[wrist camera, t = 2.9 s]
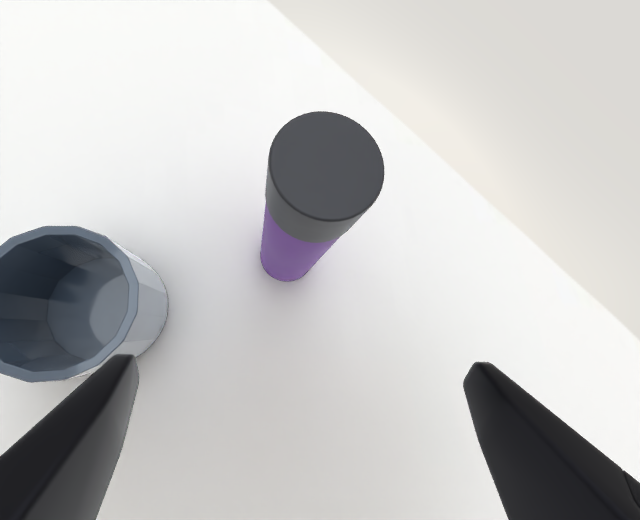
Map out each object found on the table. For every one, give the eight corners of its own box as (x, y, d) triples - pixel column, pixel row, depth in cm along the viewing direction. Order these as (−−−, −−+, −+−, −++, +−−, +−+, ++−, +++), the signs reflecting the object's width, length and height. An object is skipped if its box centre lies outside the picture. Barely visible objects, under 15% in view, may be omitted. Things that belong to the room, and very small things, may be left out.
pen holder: (103, 392, 19) (43, 417, 13) (17, 312, 19) (-77, 304, 13) (192, 305, 20) (170, 296, 15) (113, 231, 20) (63, 196, 15)
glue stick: (288, 293, 21) (333, 245, 9) (248, 256, 21) (242, 160, 9) (323, 255, 22) (407, 167, 10) (285, 219, 22) (324, 89, 10)
